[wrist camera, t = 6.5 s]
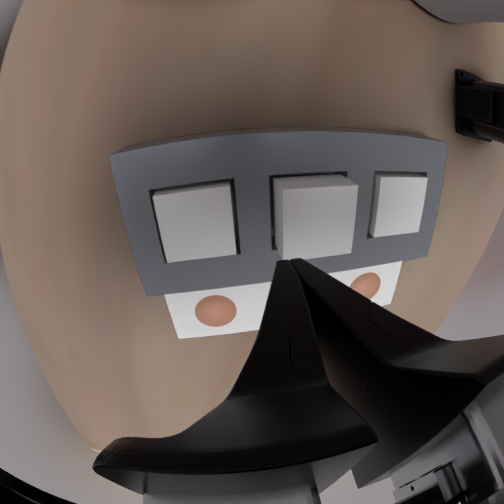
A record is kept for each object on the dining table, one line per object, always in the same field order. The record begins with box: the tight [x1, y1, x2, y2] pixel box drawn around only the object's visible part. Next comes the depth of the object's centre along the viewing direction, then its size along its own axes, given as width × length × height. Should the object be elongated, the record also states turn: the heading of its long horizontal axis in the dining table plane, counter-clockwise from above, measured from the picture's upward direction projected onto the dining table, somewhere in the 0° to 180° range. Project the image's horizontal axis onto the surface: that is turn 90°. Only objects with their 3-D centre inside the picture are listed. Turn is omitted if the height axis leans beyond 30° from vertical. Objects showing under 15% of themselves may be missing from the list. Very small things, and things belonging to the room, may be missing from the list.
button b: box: [368, 171, 428, 238], centre depth 18 cm, size 4×4×2 cm
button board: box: [109, 127, 447, 296], centre depth 18 cm, size 23×10×3 cm, turn 93°
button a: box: [153, 179, 236, 263], centre depth 17 cm, size 4×4×2 cm
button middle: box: [273, 174, 358, 260], centre depth 16 cm, size 4×4×2 cm
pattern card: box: [164, 261, 402, 339], centre depth 24 cm, size 22×6×1 cm, turn 93°
